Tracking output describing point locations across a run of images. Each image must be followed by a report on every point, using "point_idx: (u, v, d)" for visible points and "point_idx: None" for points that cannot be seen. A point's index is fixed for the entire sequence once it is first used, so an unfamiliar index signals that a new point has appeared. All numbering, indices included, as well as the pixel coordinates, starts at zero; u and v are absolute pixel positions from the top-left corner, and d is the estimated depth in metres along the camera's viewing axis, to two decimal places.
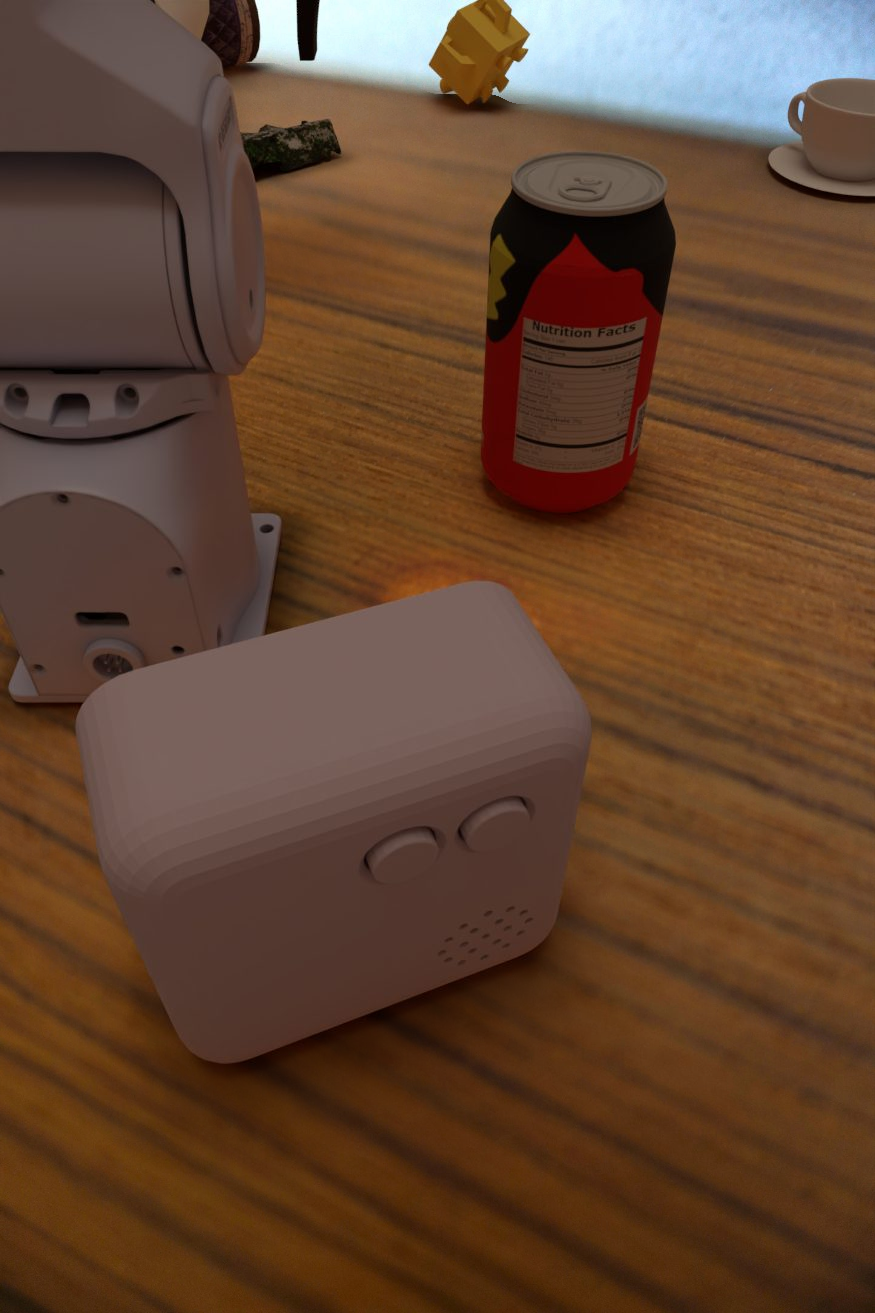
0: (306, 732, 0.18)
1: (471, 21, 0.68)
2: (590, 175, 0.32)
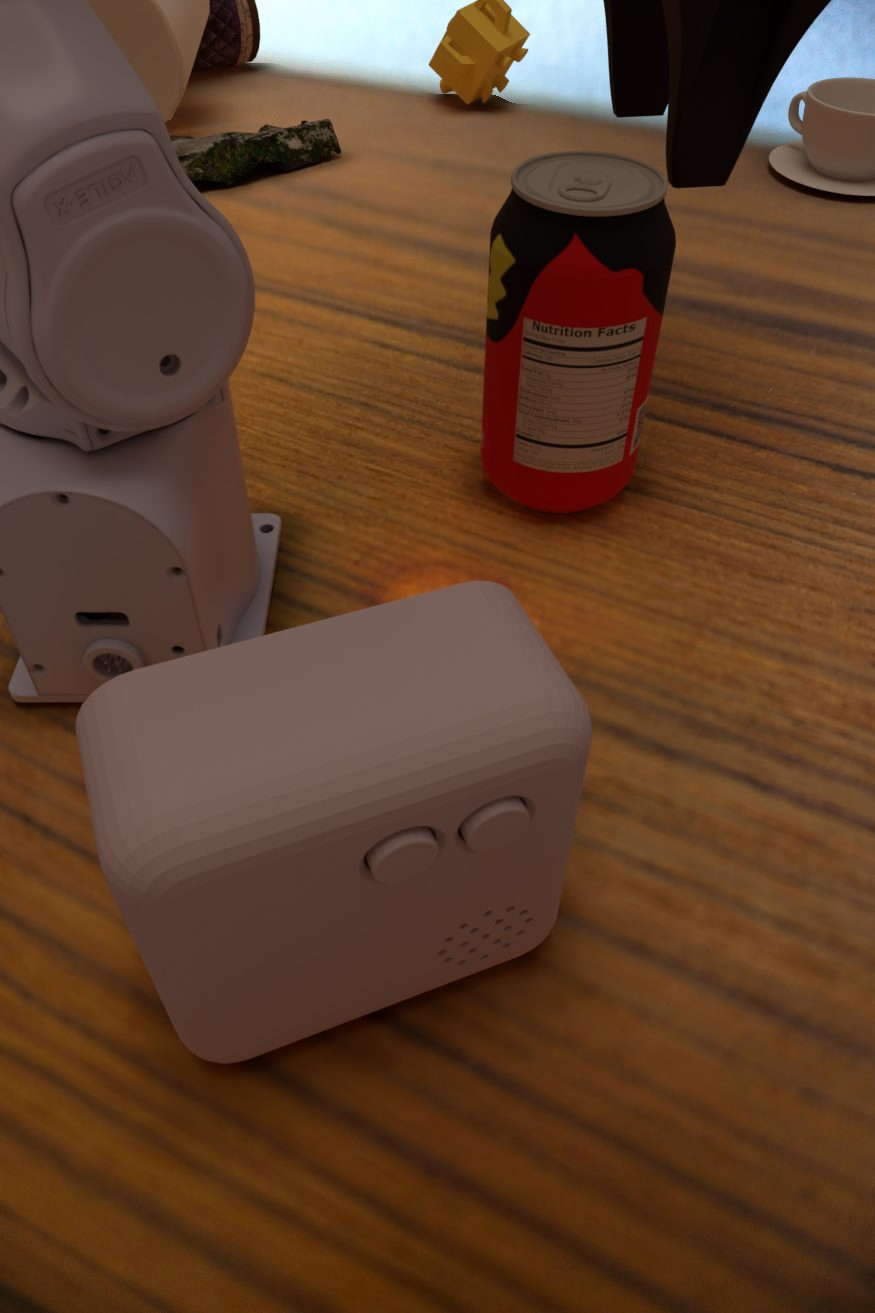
0: (306, 732, 0.18)
1: (471, 21, 0.68)
2: (590, 175, 0.32)
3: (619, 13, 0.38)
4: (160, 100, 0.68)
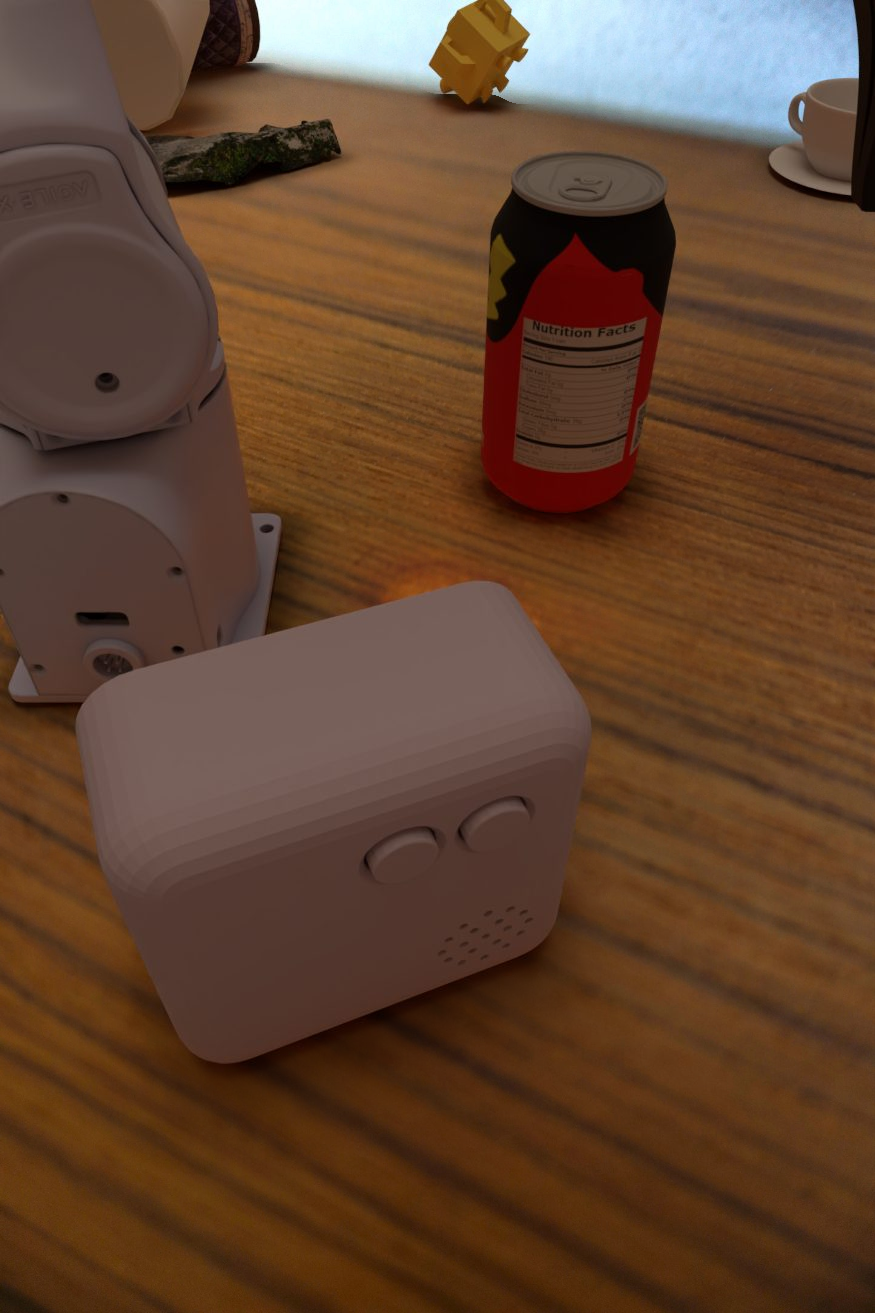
0: (306, 732, 0.18)
1: (471, 21, 0.68)
2: (590, 175, 0.32)
3: None
4: (160, 100, 0.68)
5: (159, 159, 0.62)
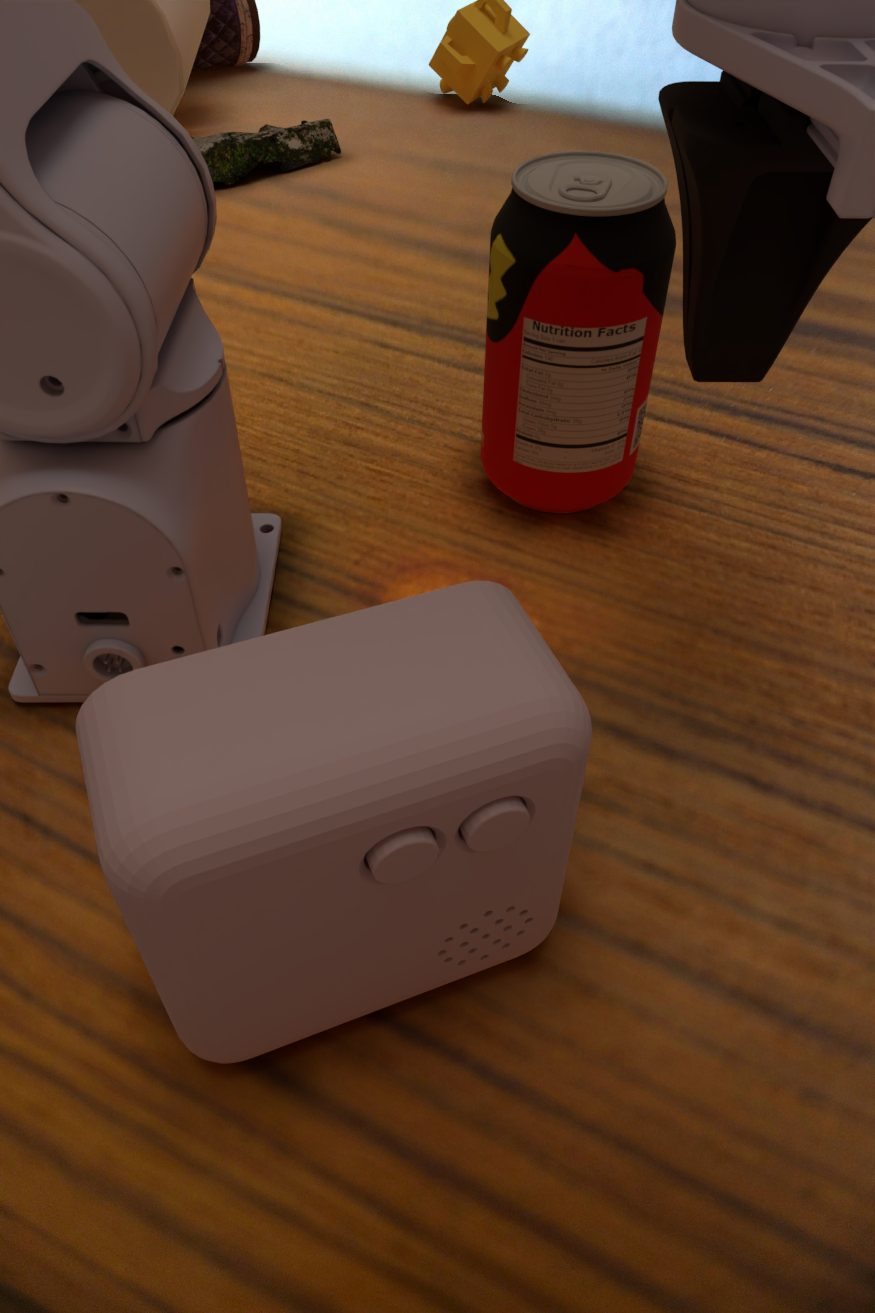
0: (306, 732, 0.18)
1: (471, 21, 0.68)
2: (590, 175, 0.32)
3: None
4: (160, 100, 0.68)
5: None
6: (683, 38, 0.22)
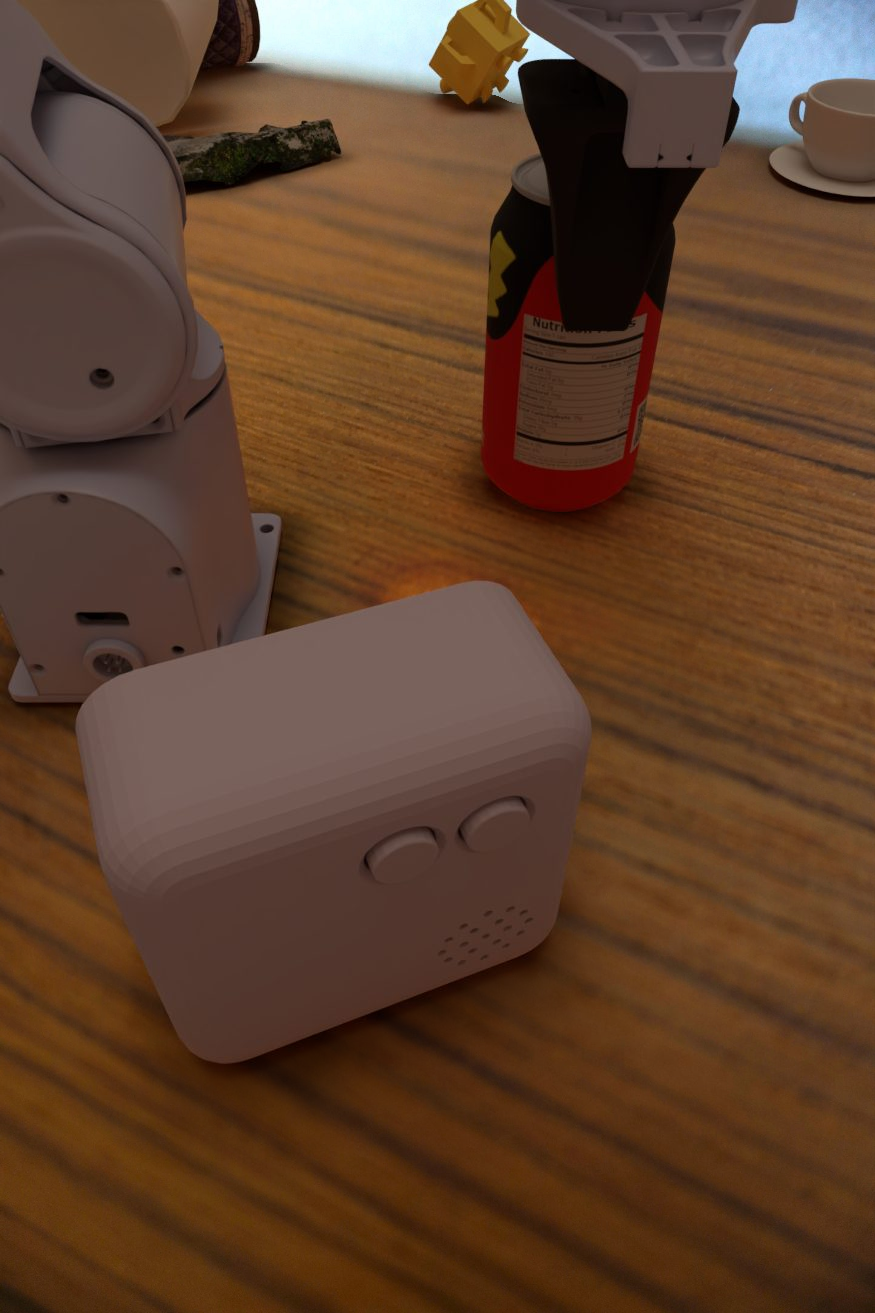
0: (306, 732, 0.18)
1: (471, 21, 0.68)
2: None
3: None
4: (161, 101, 0.68)
5: None
6: (520, 15, 0.24)
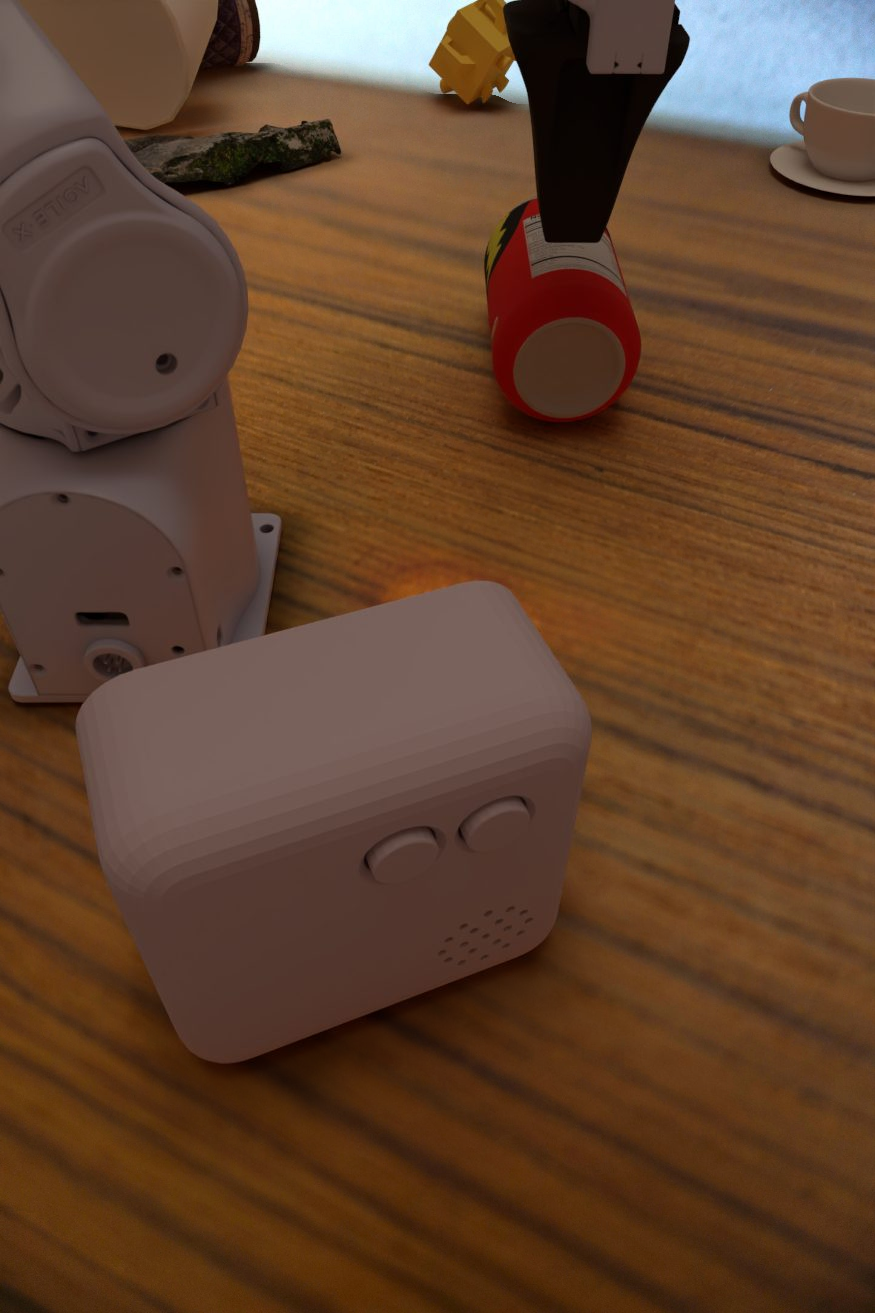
0: (306, 732, 0.18)
1: (471, 21, 0.68)
2: None
3: None
4: (162, 101, 0.68)
5: (159, 159, 0.62)
6: None
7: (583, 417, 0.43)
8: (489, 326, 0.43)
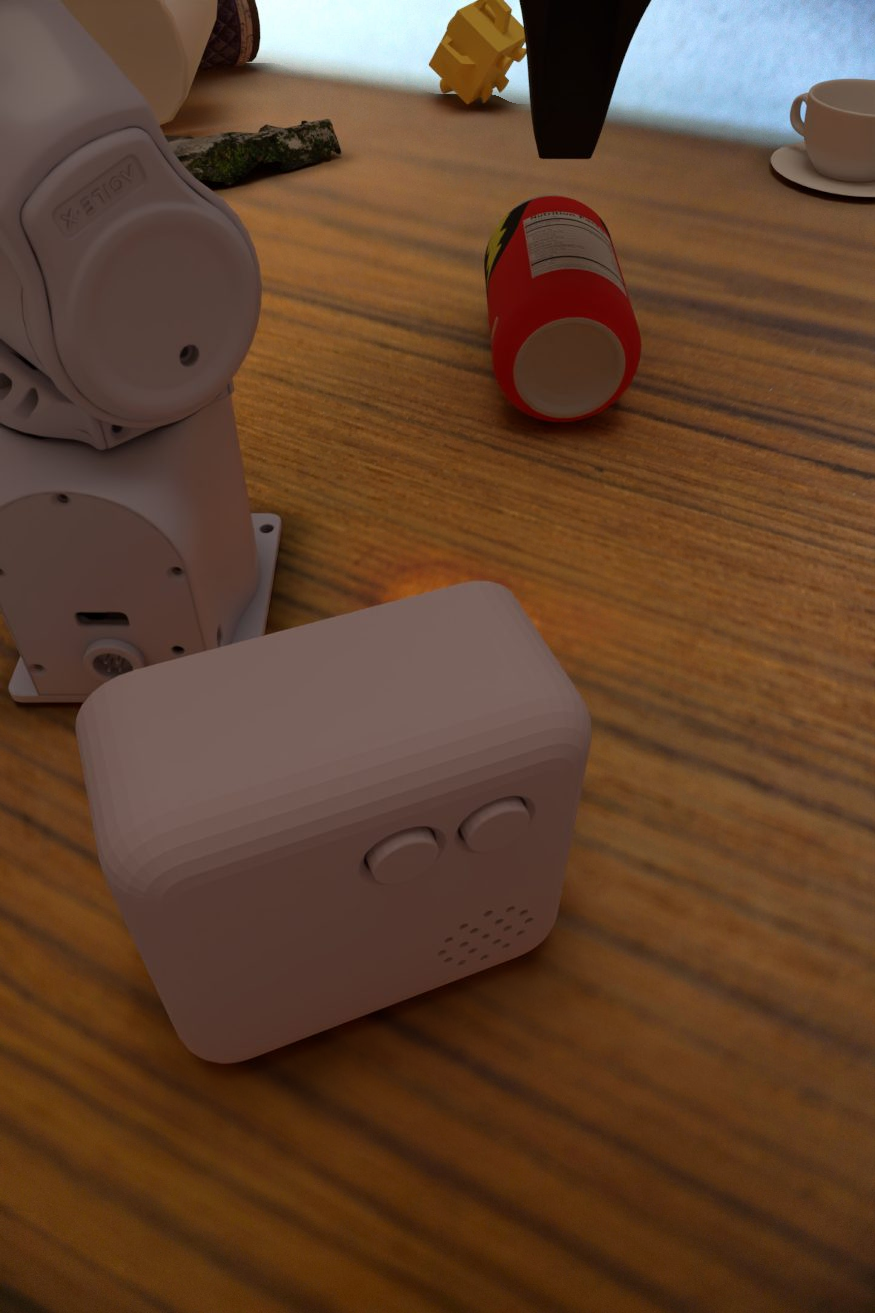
0: (306, 732, 0.18)
1: (471, 21, 0.68)
2: None
3: None
4: (162, 101, 0.68)
5: None
6: None
7: (583, 417, 0.43)
8: (489, 326, 0.43)
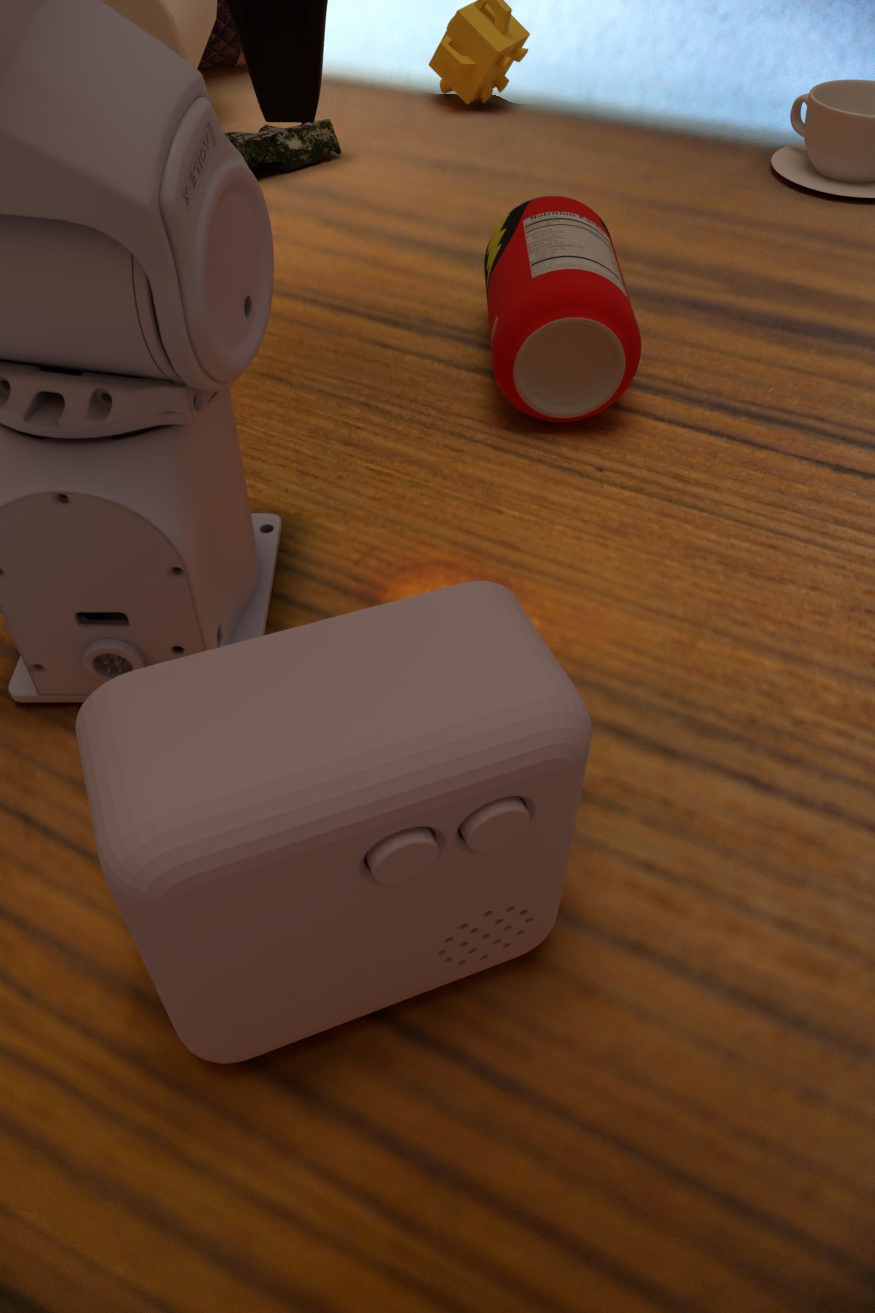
0: (306, 732, 0.18)
1: (471, 21, 0.68)
2: None
3: None
4: None
5: None
6: None
7: (583, 417, 0.43)
8: (489, 326, 0.43)
